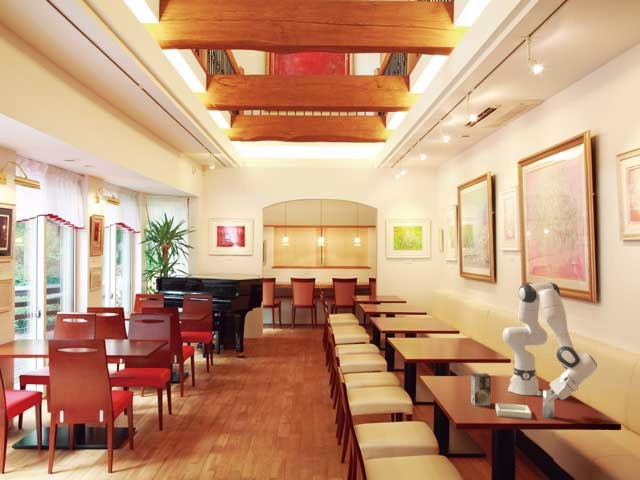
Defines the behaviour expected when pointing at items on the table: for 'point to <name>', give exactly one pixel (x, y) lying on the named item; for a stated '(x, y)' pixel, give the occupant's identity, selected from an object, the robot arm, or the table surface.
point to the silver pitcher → (547, 404)
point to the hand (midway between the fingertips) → (548, 398)
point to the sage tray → (513, 410)
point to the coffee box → (480, 389)
